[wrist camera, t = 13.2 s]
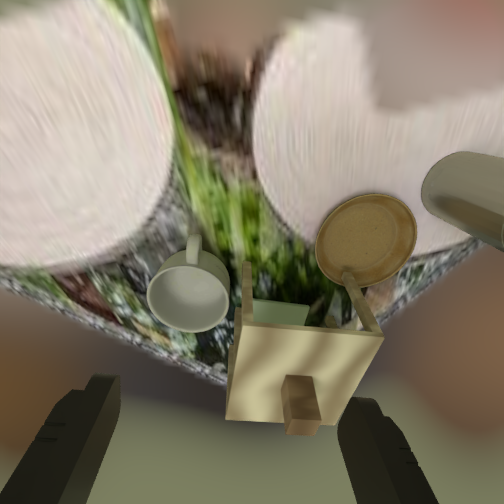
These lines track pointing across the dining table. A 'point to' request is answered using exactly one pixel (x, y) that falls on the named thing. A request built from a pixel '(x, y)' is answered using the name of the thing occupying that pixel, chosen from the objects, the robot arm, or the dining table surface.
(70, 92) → the dining table surface
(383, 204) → the plant saucer
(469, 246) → the dining table surface
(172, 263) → the teacup
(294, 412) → the small wooden table
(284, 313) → the plate
